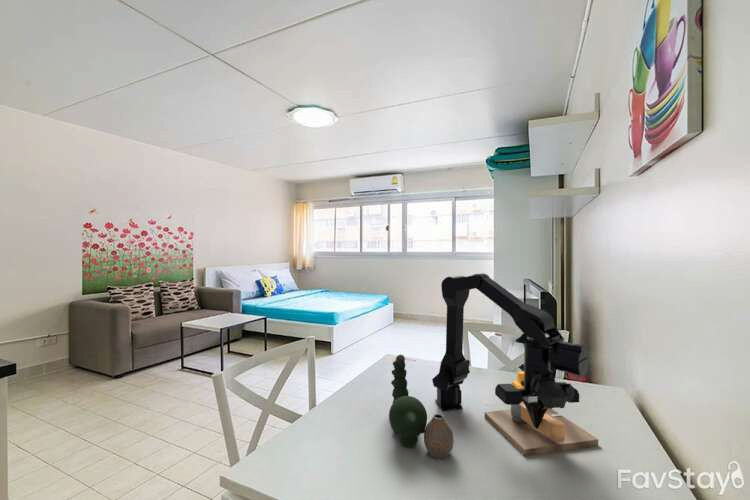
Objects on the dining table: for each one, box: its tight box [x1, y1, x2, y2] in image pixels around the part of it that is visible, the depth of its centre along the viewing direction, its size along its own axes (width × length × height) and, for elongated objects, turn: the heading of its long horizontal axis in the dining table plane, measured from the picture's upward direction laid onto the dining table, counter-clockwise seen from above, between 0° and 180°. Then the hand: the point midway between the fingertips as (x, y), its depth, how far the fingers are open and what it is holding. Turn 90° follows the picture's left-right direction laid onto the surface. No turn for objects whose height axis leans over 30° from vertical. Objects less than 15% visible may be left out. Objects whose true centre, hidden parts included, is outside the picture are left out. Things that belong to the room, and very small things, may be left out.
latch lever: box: [510, 401, 565, 442], centre depth 85 cm, size 16×4×4 cm, turn 20°
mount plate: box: [484, 408, 599, 457], centre depth 88 cm, size 20×18×3 cm
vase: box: [423, 413, 455, 459], centre depth 79 cm, size 7×7×9 cm
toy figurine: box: [388, 354, 428, 448], centre depth 88 cm, size 9×19×25 cm
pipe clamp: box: [511, 371, 524, 389], centre depth 107 cm, size 12×4×6 cm, turn 1°
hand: (536, 427), depth 82 cm, fingers closed
